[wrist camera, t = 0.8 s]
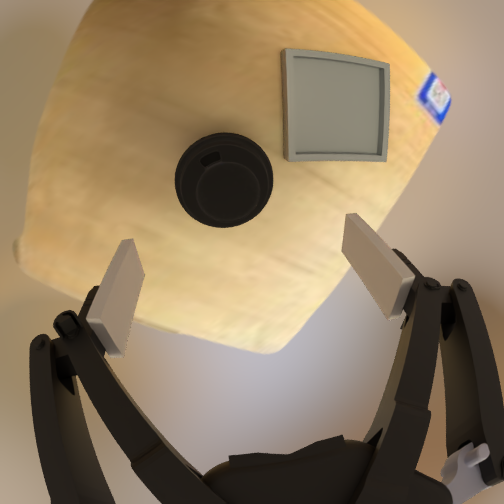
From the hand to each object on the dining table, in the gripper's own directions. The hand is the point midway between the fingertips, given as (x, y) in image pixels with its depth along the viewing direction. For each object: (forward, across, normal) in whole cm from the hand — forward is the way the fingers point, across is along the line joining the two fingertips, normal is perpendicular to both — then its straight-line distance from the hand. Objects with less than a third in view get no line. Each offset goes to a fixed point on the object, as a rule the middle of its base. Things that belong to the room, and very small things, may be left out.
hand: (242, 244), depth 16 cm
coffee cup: (+24, -1, 0) cm, 24 cm away
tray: (+24, +16, +7) cm, 30 cm away
